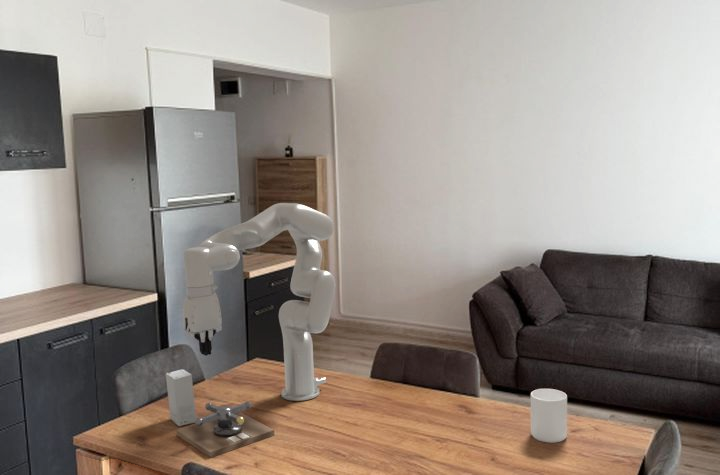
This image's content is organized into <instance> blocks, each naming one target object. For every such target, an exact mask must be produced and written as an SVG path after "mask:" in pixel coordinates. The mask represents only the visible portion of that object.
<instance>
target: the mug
mask: <svg viewBox="0 0 720 475" xmlns="http://www.w3.org/2000/svg"><path fill="white" fill-rule="evenodd" d="M530 434H531V436H532V437H533V438H534V439H535V440H537V441H539V442H544V443H547V444H550V443H551V444H554V443H556V444H557V443H560V442H562V441H564V440H565V439H566V438H567V435H568V395H567V394H566V392H563V391H562V390H558V389H553V388H537V389H535V390H533V391H531V392H530Z"/></svg>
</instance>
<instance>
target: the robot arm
mask: <svg viewBox="0 0 720 475" xmlns="http://www.w3.org/2000/svg"><path fill="white" fill-rule="evenodd" d="M334 228H335V227H334V223H333V220H332V218H331V217H330V216H328V215H327V214H325V213H323V212H320V210H319V211H318V210H316V209H314V208H311V207H309V206H307V205H304V204H300V203H297V202H296V203H295V202H291V203H290V202H280V203H279V202H278V203H276V204H275V203H274V204H273V205H271V206H269V207H267V208H266V209H264V210H263V211H262V212H259V213H258V214H257V215H255V216H254V217H252V218H250V219H248V220H247V221H245V222H242V223H238V224H236V225H234V226H231V227H229V228H226V229H223V230H221V231H219V232H216V233H215V234H213V235H212V236H210V237H208V238H206V239H205V240H204V241H202V242H201V243H200V244H199V245H198V246H195V247H189V248H186V249H185V250H184V252H183V262H184V264H183V265H184V273H185V274H184V275H185V284H186V285H185V286H186V295H187V296H186V297H184V299H183V308H182V315H183V316H182V318H183V319H182V321H183V322H182V323H183V325H182V326H183V330H184V331H186V332H185V336H186V338H189V339H195V340H197V341H198V345H199V348H198V349H199V353H200V354H201V355H203V356H205V357H206V356H209V355H212V349H213V348H212V340H214V336H215V335H216V333H219V332H220V331H222V329H223V326H222V324H223V322H222V321H223V319H222V311H221V305H220V300H219V297H218V295H217V293H216V290H217V289H219V286H218V284H217V283H214V272H215V271H227V270H232V269H233V268H235V267H236V266H237V265H238V263H239V262H240V258H241V256H240V251H241V250H247V249H253V248H254V249H255V248H257V247H261V246H263V245H265V243H267V242H269V241H271V240H272V239H273V238H275V237H276V236H278V235H279V234H281V233H283V231H288V233H289V234H290V236H291V238H292V239H293V242H294V244H295V246H296V257H295V262H294V265H293V266H294V267H293V269H292V270H293V271H292V276H291V279H290V280H291V281H290V284H289V285H290V286H289V287H290V288H289V289H290V291H291V292H292V293H293V295H295V296H296V297H297V296H298V297H301V298H307V299H309V301H303V300H298V299H290V300H287V301H285V302H283V304H282V305H281V306H280V308H279V309H278V310H279V311H278V321H279V325H280V329H281V334H282V343H283V360H284V361H283V363H284V379H285V380H284V382H285V388H283V389H282V390H281V395H280V396H281V398H282V399H284V400H287V401H291V402H292V401H295V402H300V401H302V402H303V401H308V400H311V399H314V398H316V397H318V396H319V394H320V388H319V386H320V385H322V384H325V383H327V379H326V377H320V378H319V377H317V376H316V377H315V371H314V370H315V368H314V348H313V338H312V335H311V334H320V333H322V332H324V331H325V329H326V328H327V326H328V324H329V322H330V318H331V313H332V309H333V304H334V301H335V300H334V299H335V295H336V288H337V285H336V280H335V277H334V275H333V274H332V273H331V272H330V271H328V270H324V269H321V266H322V260H323V250H322V247H321V245H320V241H321V242H322V241H323V242H324V241H327V240H328V239H330V238H331V237H332V235H333V233H334V231H335V229H334Z"/></svg>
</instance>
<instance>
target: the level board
mask: <svg viewBox="0 0 720 475" xmlns="http://www.w3.org/2000/svg"><path fill="white" fill-rule="evenodd" d="M234 414H236V415H238V416H240V417H243V418H244V423H243V424H242V431H241V432H240V433H239V434H236V435H233V436H228V437H221V436H217V435H215V434H214V430H213V428H214V426H215V425H217V424H218V422H217V420H214V421H211V422H208V423H205V424H202V425H201V426H197V425H196V424H195V423H194V424H193V425H189V426H187V427H183V428H180V429H177V430H176V435H177V437H179V438H181V439H182V440H184V441H185V442H187V444H189V445H190V446H192V447H194V448H195V449H197V450H199V451H200V452H201V453H203V454H204V455H206V456H208V457H209V458H214V457H217V456H219V455H222V454H225V453H228V452H231V451H233V450H236V449H239V448H241V447H245V446H247V445H250V444H254V443H255V442H259V441H261V440H264V439H267V438H270V437H273V436H275V430H274V429H273V428H271V427H269V426H267V425H265V424H263V423H262V422H260V421H258V420H256V419H254V418H252V417H251V416H248V415H246V414H244V413H243V412H241V411H239V412H237V413H234Z"/></svg>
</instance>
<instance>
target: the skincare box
mask: <svg viewBox="0 0 720 475" xmlns="http://www.w3.org/2000/svg"><path fill="white" fill-rule="evenodd" d="M165 379H166V380H165V381H166V389H167V398H168V407H169V408H168V409H169V418H170V420H171V421H172V422H173V423H174V424H175V425H177V426H178V427H183V426H186V425H191V424H195V421H196V419H197V412H196V403H195V394H194V385H193V384H194V383H193V375H192V373H190V372H188V371H186V370H185V369H177V370H173V371H170V372H166V373H165Z"/></svg>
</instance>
